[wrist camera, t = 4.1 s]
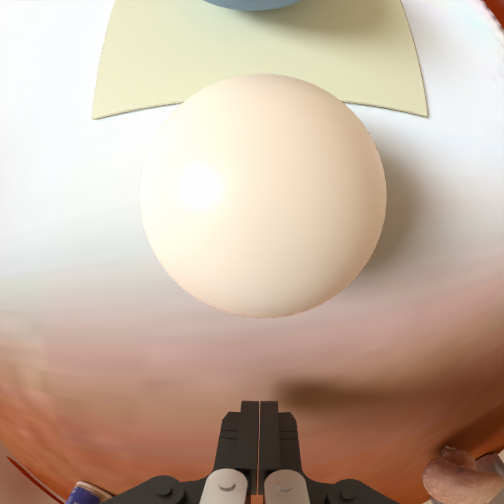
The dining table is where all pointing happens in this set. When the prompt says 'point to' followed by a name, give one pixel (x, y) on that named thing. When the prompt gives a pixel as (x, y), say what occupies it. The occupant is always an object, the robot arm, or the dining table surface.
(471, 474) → the mushroom
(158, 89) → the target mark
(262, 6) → the blue ball
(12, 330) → the dining table surface
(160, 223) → the cue ball
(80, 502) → the pill bottle
